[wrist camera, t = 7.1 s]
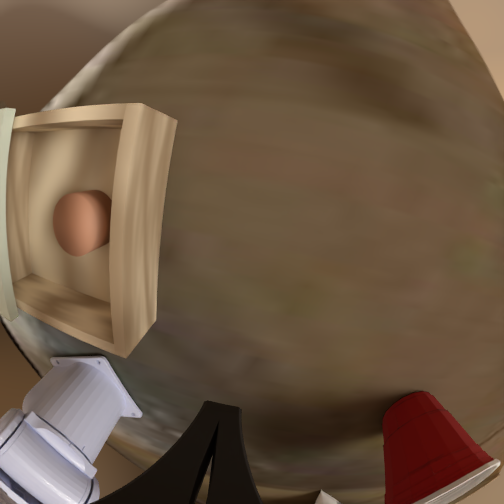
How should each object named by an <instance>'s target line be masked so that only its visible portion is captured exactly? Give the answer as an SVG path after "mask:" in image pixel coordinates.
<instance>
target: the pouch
mask: <svg viewBox="0 0 504 504" xmlns="http://www.w3.org/2000/svg"><path fill="white" fill-rule="evenodd" d="M315 504H341V503H340V502H339V501H337V500H336V499H335V498H333V497H332V496H330V495H328V494H327V493H325V492H323V491H322V490H321V492H320V494H319V496H318V498H317V500H316V502H315Z"/></svg>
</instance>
